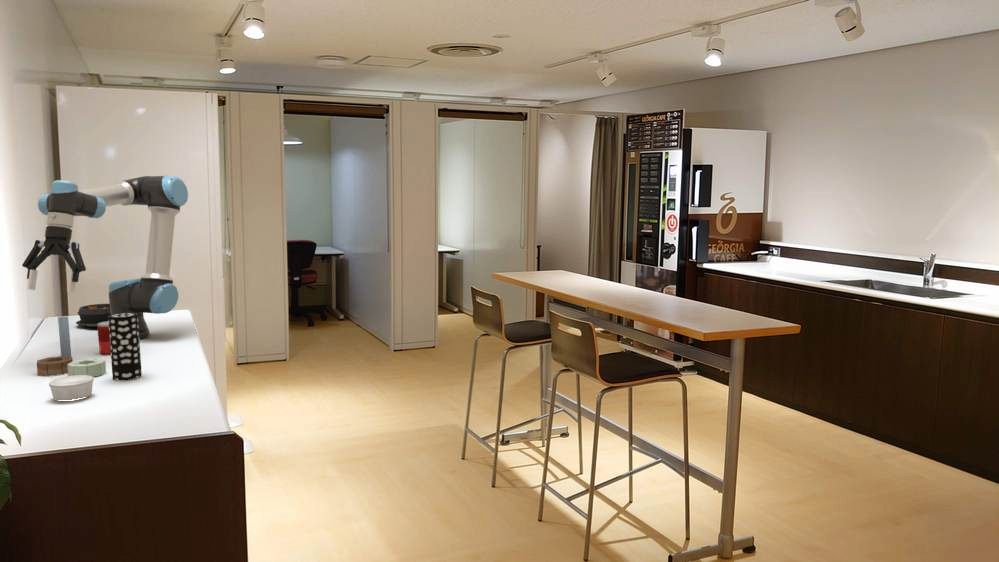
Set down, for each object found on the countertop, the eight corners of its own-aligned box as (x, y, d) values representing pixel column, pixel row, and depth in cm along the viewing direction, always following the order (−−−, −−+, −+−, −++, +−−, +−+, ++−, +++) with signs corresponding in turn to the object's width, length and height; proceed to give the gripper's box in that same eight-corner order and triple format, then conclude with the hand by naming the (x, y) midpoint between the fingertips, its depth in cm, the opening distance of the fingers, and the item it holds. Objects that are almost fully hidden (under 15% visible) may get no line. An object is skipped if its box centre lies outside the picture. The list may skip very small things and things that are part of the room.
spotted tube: (147, 375, 240) (143, 313, 237) (127, 381, 232) (122, 318, 230) (127, 372, 243) (123, 312, 240) (106, 379, 235) (101, 316, 232)
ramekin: (63, 405, 208) (62, 387, 207) (42, 399, 214) (40, 381, 213) (102, 395, 217) (101, 378, 217) (81, 390, 223) (80, 373, 222)
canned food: (113, 355, 267) (111, 325, 265) (94, 354, 269) (92, 324, 267) (128, 350, 274) (126, 321, 273) (109, 349, 276) (107, 320, 274)
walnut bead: (73, 366, 251) (72, 355, 250) (73, 373, 242) (72, 361, 242) (38, 370, 246) (37, 358, 246) (37, 377, 237) (36, 365, 237)
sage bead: (96, 369, 248) (95, 357, 247) (110, 373, 242) (109, 361, 241) (64, 375, 240) (63, 363, 239) (77, 380, 234) (76, 367, 233)
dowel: (71, 361, 258) (68, 316, 256) (71, 363, 255) (68, 317, 253) (61, 362, 257) (58, 316, 254) (61, 364, 254) (57, 318, 252)
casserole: (72, 323, 328) (70, 304, 327) (119, 318, 339) (117, 300, 338) (80, 332, 308) (78, 312, 307) (130, 327, 319) (128, 307, 318)
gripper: (15, 223, 245) (6, 287, 243) (88, 227, 243) (80, 291, 241) (31, 227, 252) (22, 289, 250) (102, 231, 251) (94, 294, 249)
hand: (51, 290), depth 246 cm, fingers open, 13 cm apart
